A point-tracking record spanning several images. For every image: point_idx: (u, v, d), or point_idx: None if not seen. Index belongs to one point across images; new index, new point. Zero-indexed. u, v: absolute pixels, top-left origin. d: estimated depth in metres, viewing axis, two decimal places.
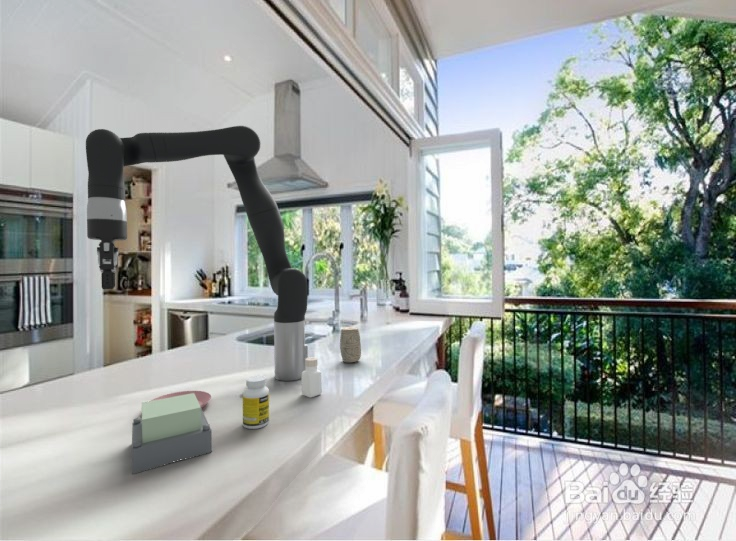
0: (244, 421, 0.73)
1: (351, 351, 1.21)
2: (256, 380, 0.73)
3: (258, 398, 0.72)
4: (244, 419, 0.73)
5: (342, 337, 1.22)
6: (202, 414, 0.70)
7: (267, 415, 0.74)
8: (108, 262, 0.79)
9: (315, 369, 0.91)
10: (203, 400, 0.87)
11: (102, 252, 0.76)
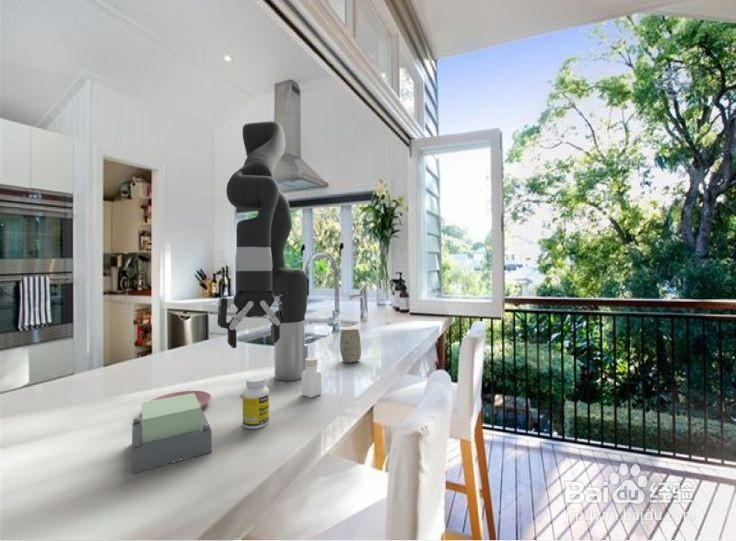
0: (244, 421, 0.73)
1: (351, 351, 1.21)
2: (256, 380, 0.73)
3: (258, 398, 0.72)
4: (244, 419, 0.73)
5: (342, 337, 1.22)
6: (202, 414, 0.70)
7: (267, 415, 0.74)
8: None
9: (315, 369, 0.91)
10: (203, 400, 0.87)
11: None
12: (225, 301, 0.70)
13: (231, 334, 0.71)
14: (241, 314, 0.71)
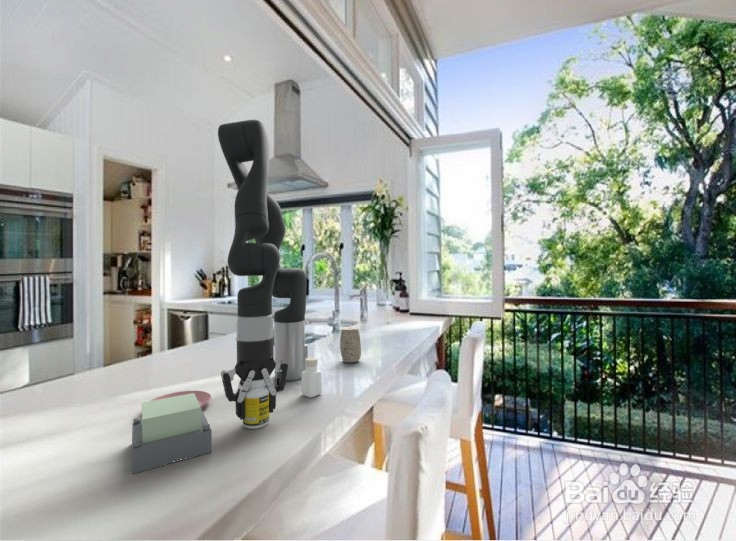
0: (244, 421, 0.73)
1: (351, 351, 1.21)
2: (257, 380, 0.73)
3: (259, 398, 0.72)
4: (244, 419, 0.73)
5: (342, 337, 1.22)
6: (202, 414, 0.70)
7: (267, 415, 0.74)
8: None
9: (315, 369, 0.91)
10: (203, 400, 0.87)
11: None
12: (227, 376, 0.70)
13: (239, 406, 0.72)
14: None
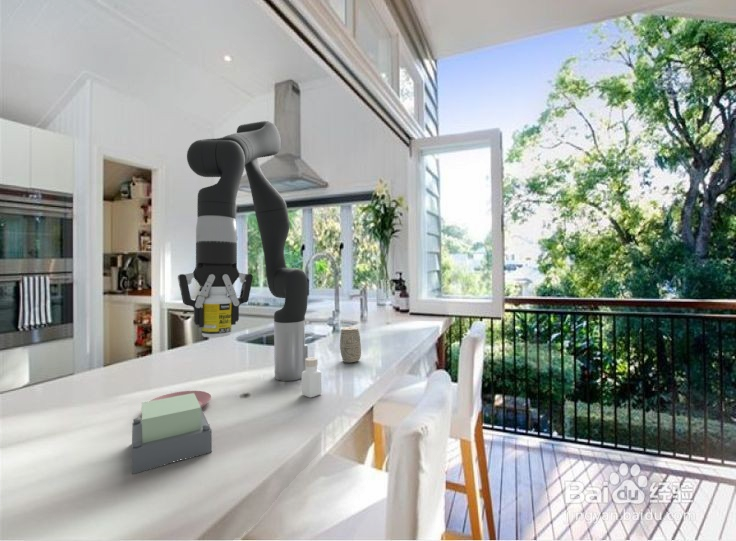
0: (203, 329, 0.67)
1: (351, 351, 1.21)
2: None
3: (219, 304, 0.67)
4: (203, 327, 0.67)
5: (342, 337, 1.22)
6: (202, 414, 0.70)
7: (229, 325, 0.69)
8: None
9: (315, 369, 0.91)
10: (203, 400, 0.87)
11: None
12: (184, 277, 0.65)
13: (197, 313, 0.67)
14: (204, 290, 0.67)
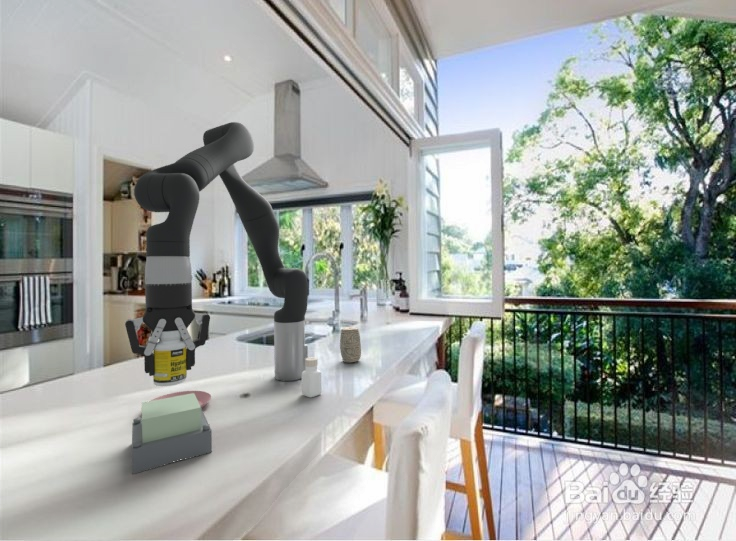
0: (154, 378, 0.63)
1: (351, 351, 1.21)
2: (169, 331, 0.63)
3: (170, 351, 0.63)
4: (154, 375, 0.63)
5: (342, 337, 1.22)
6: (202, 414, 0.70)
7: (182, 372, 0.64)
8: None
9: (315, 369, 0.91)
10: (203, 400, 0.87)
11: None
12: (130, 324, 0.61)
13: (147, 360, 0.62)
14: (154, 336, 0.62)
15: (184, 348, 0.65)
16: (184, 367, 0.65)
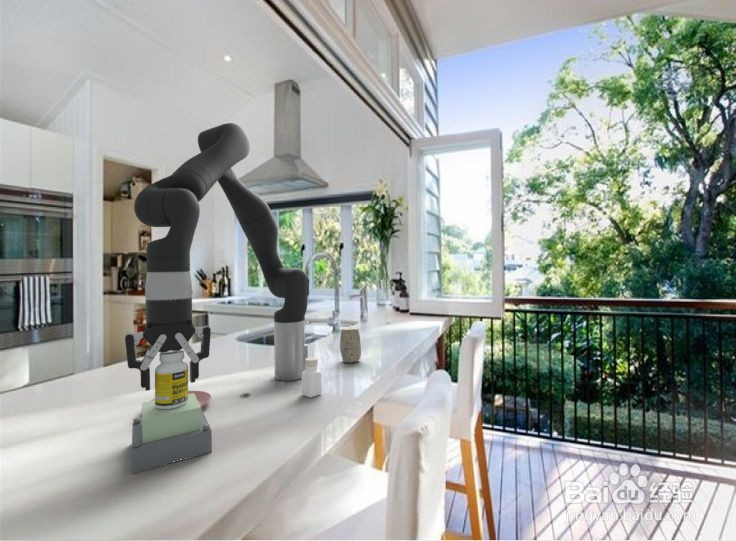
0: (155, 400, 0.63)
1: (351, 351, 1.21)
2: (170, 354, 0.64)
3: (172, 374, 0.63)
4: (155, 398, 0.63)
5: (342, 337, 1.22)
6: (202, 414, 0.70)
7: (184, 394, 0.65)
8: None
9: (315, 369, 0.91)
10: (203, 400, 0.87)
11: None
12: (130, 338, 0.60)
13: (143, 375, 0.62)
14: (153, 351, 0.62)
15: (185, 370, 0.65)
16: (185, 389, 0.65)
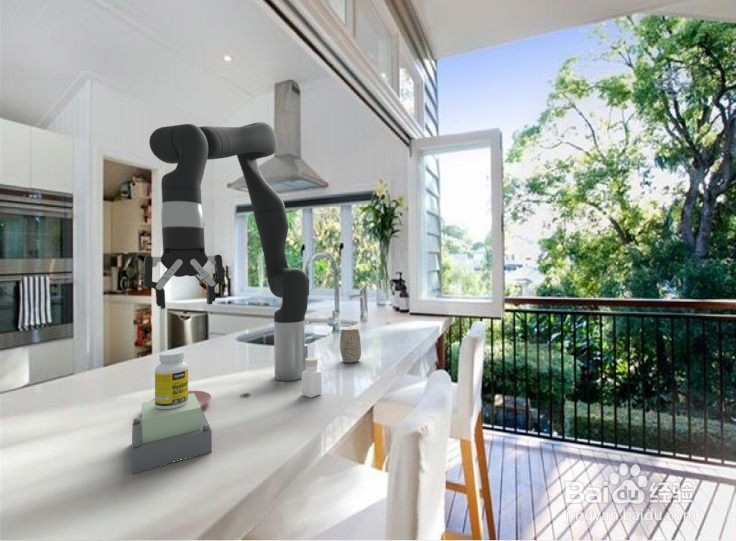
0: (155, 401, 0.63)
1: (351, 351, 1.21)
2: (170, 354, 0.63)
3: (172, 374, 0.63)
4: (155, 398, 0.63)
5: (342, 337, 1.22)
6: (202, 414, 0.70)
7: (184, 394, 0.65)
8: None
9: (315, 369, 0.91)
10: (203, 400, 0.87)
11: None
12: (150, 259, 0.66)
13: (159, 294, 0.68)
14: (169, 273, 0.68)
15: (185, 370, 0.65)
16: (185, 389, 0.65)
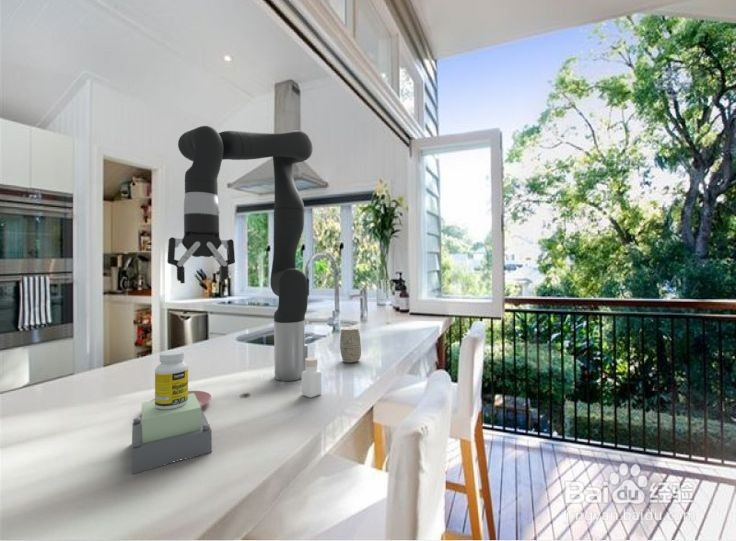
0: (155, 401, 0.63)
1: (351, 351, 1.21)
2: (170, 354, 0.63)
3: (172, 374, 0.63)
4: (155, 398, 0.63)
5: (342, 337, 1.22)
6: (202, 414, 0.70)
7: (184, 394, 0.65)
8: None
9: (315, 369, 0.91)
10: (203, 400, 0.87)
11: None
12: (173, 240, 0.78)
13: (179, 270, 0.79)
14: (188, 253, 0.79)
15: (185, 371, 0.65)
16: (185, 390, 0.65)
